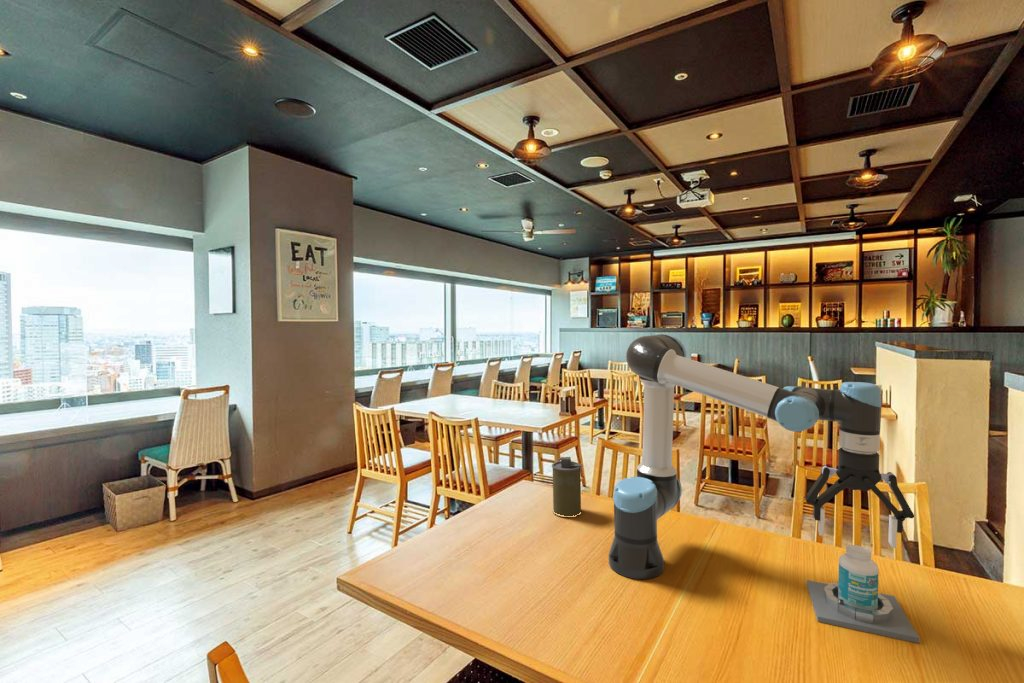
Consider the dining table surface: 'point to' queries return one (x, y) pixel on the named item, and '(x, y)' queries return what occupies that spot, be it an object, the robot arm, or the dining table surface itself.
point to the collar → (856, 613)
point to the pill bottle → (858, 578)
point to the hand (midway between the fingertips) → (855, 539)
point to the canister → (566, 487)
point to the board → (894, 628)
